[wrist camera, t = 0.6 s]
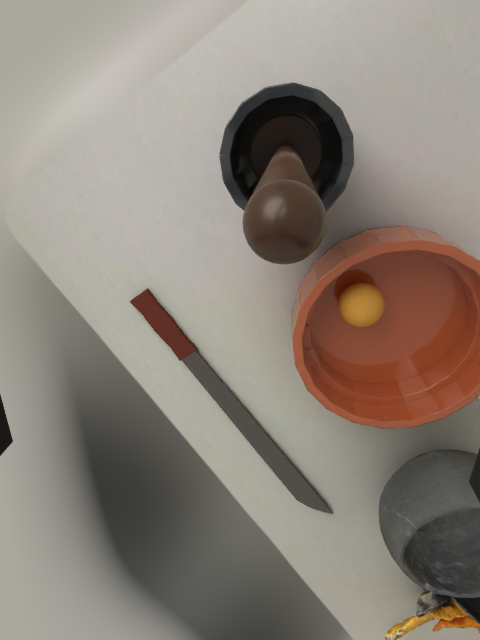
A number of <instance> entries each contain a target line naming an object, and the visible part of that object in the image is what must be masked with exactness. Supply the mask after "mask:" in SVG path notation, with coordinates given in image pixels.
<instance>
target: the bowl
mask: <svg viewBox="0 0 480 640" xmlns="http://www.w3.org/2000/svg"><path fill="white" fill-rule="evenodd" d="M476 458H477V455H476V454H473V453H469V452H465V451H459V450H436V451H432V452H429V453H426V454H422V455H420V456H418V457H416V458H414V459H412V460H410V461H409V462H407V463H406V464H405V465H403V466H402V467H401V468H400V469H399V470H398V471H397V472H396V473H395V474H394V475H393V476H392V477H391V479H390V480H389V481H388V483H387V485H386V486H385V487H384V490H383V492H382V495H381V498H380V503H379V522H380V529H381V533H382V536H383V539H384V541H385V544H386V546H387V548H388V550H389V552H390V554H391V556H392V557H393V559H394V560H395V562H396V563H397V564H398V566H399V567H400V568H401V570H402V571H403V572H404V573H405V574H406V575H407V576H408V577H409V578H410V579H411V580H412V581H414V582H415V583H416V584H418V585H420V586H421V587H423V588H425V589H426V590H428V591H430V592H432V593H436V594H440V595H447V596H451V597H460V598H477V597H480V502H479V500H478V498H477V496H476V495H475V493H474V491H473V489H472V487H471V485H470V483H469V479H470V476H471V473H472V470H473V467H474V464H475V461H476Z"/></svg>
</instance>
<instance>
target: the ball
mask: <svg viewBox="0 0 480 640" xmlns="http://www.w3.org/2000/svg"><path fill="white" fill-rule="evenodd" d="M338 306H339V312H340V314H341V316H342V318H343V319H344V320H345V321H346V322H347V323H349V324H350V325H352V326H355V327H367V326H370V325H373V324H374V323H376V322H377V321H378V320H379V319H380V318H381V316H382V314H383V312H384V308H385V301H384V298H383V295H382V293H381V292H380V291H379V290H378V289H377V288H376V287H375V286H373V285H371V284H368V283H356V284H353V285H351V286H349V287H348V288H346V289H345V290H344V291H343V293H342V294H341V296H340V299H339V304H338Z"/></svg>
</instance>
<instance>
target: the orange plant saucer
mask: <svg viewBox="0 0 480 640" xmlns="http://www.w3.org/2000/svg"><path fill="white" fill-rule="evenodd" d="M356 283H368V284H371V285H373V286H375V287H376V288H377V289H378V290H379V291H380V292H381V293H382V295H383V298H384V301H385V308H384V312H383V314H382V316H381V318H380V319H379V320H378V321H377V322H376V323H374V324H373V325H370V326H367V327H355V326H352V325H350V324H349V323H347V322H346V321H345V320H344V319H343V318H342V316H341V314H340V312H339V306H338V304H339V299H340V296H341V294H342V293H343V291H344V290H345V289H346V288H348V287H349V286H351V285H353V284H356ZM292 337H293V348H294V358H295V366H296V368H297V370H298V372H299V374H300V376H301V378H302V380H303V382H304V384H305V386H306V388H307V390H308V391H309V392H310V393H311V394H312V395H313V396H314V397H315V398H316V399H317V400H318V401H319V402H320V403H321V404H322V405H323V406H324V407H325V408H326V409H328V410H330V411H332V412H334V413H335V414H337V415H339V416H341V417H343V418H345V419H347V420H349V421H351V422H354V423H358V424H363V425H368V426H373V427H378V428H382V429H383V428H406V427H415V426H419V425H422V424H426V423H429V422H432V421H436V420H439V419H443V418H445V417H447V416H448V415H450V414H452V413H453V412H455V411H457V410H459V409H460V408H462V407H464V406H465V405H467V404H469V403H470V402H471V401H473V400H474V399H475V398H476V397H477V396H478V395H479V394H480V261H479V260H478V259H476V258H475V257H473V256H472V255H470V254H469V253H467V252H466V251H464V250H463V249H461V248H460V247H458V246H457V245H455V244H453V243H452V242H450V241H448V240H447V239H445V238H443V237H441V236H440V235H438V234H436V233H435V232H431V231H426V230H421V229H416V228H411V227H406V226H395V227H386V228H377V229H369V230H367V231H364V232H362V233H360V234H357V235H355V236H353V237H350V238H348V239H346V240H343V241H341V242H339V243H337V244H336V245H335V246H334V247H333V248H331V249H330V250H329V251H328V252H327V253H325V254H324V255H323V256H322V257H321V258H319V259H318V260H317V261H316V262H315V263H314V264H313V266H312V267H311V269H310V270H309V272H308V273H307V275H306V276H305V278H304V280H303V281H302V283H301V284H300V286H299V288H298V291H297V295H296V299H295V303H294V307H293V311H292Z"/></svg>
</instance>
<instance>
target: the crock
mask: <svg viewBox="0 0 480 640" xmlns="http://www.w3.org/2000/svg"><path fill="white" fill-rule="evenodd" d="M284 114H292V115H297V116H300V117H302V118H304V119H306V120H307V121H308V122H310V123H311V124H312V125H313V126H314V128H315V129H316V130H317V132H318V134H319V136H320V139H321V143H322V160H321V164H320V166H319V169H318V171H317V173H316V174H315V176H314V177H313V178H312V179H311V181H312V183H313V185H314V187H315V189H316V191H317V193H318V195H319V197H320V199H321V201H322V203H323V205H324V208H325V212H326V211H327V210H328V209H329V208H330V207H331V206H332V205H333V203H334V202H335V201H336V200H337V199H338V197H339V196H340V195H341V194H342V193H343V192H344V190H345V188H346V185H347V182H348V179H349V176H350V173H351V171H352V168H353V165H354V150H353V134H352V132H351V129H350V127H349V125H348V123H347V120H346V118H345V116H344V114H343V111H342V110H341V108H340V107H339V106H337V105H336V104H335V103H334V102H333V101H332V100H331V99H330V98H328V97H327V96H326V95H325V94H324V93H323V92H322V91H320V90H318V89H314V88H311V87H308V86H304V85H301V84H297V83H287V84H281V85H275V86H269V87H266V88H263V89H262V90H260V91H259V92H257V93H256V94H254V95H253V96H251V97H250V98H248V99H247V100H245V101H244V102H242V104H240V106H239V107H238V109H237V110H236V112H235V113H234V115H233V116H232V118H231V119H230V121H229V122H228V124H227V125H226V128H225V131H224V136H223V140H222V145H221V149H220V163H221V170H222V177H223V181H224V184H225V186H226V188H227V189H228V191H229V193H230V195H231V196H232V198H233V200H234V202H235V203H236V204H237V205H238V206H239V207H240V208H241V209H243V210H244V211H245V208H246V205H247V203H248V201H249V199H250V197H251V196H252V194H253V192H254V190H255V188H256V186H257V185H258V183H259V181H260V180H259V179H258V177H257V176H256V174H255V172H254V170H253V168H252V165H251V159H250V149H251V144H252V141H253V138H254V136H255V134H256V132H257V131H258V129H259V128H260V127H261V126H262V125H263V124H264V123H265V122H267V121H268V120H269V119H271V118H273V117H276V116H279V115H284Z"/></svg>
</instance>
